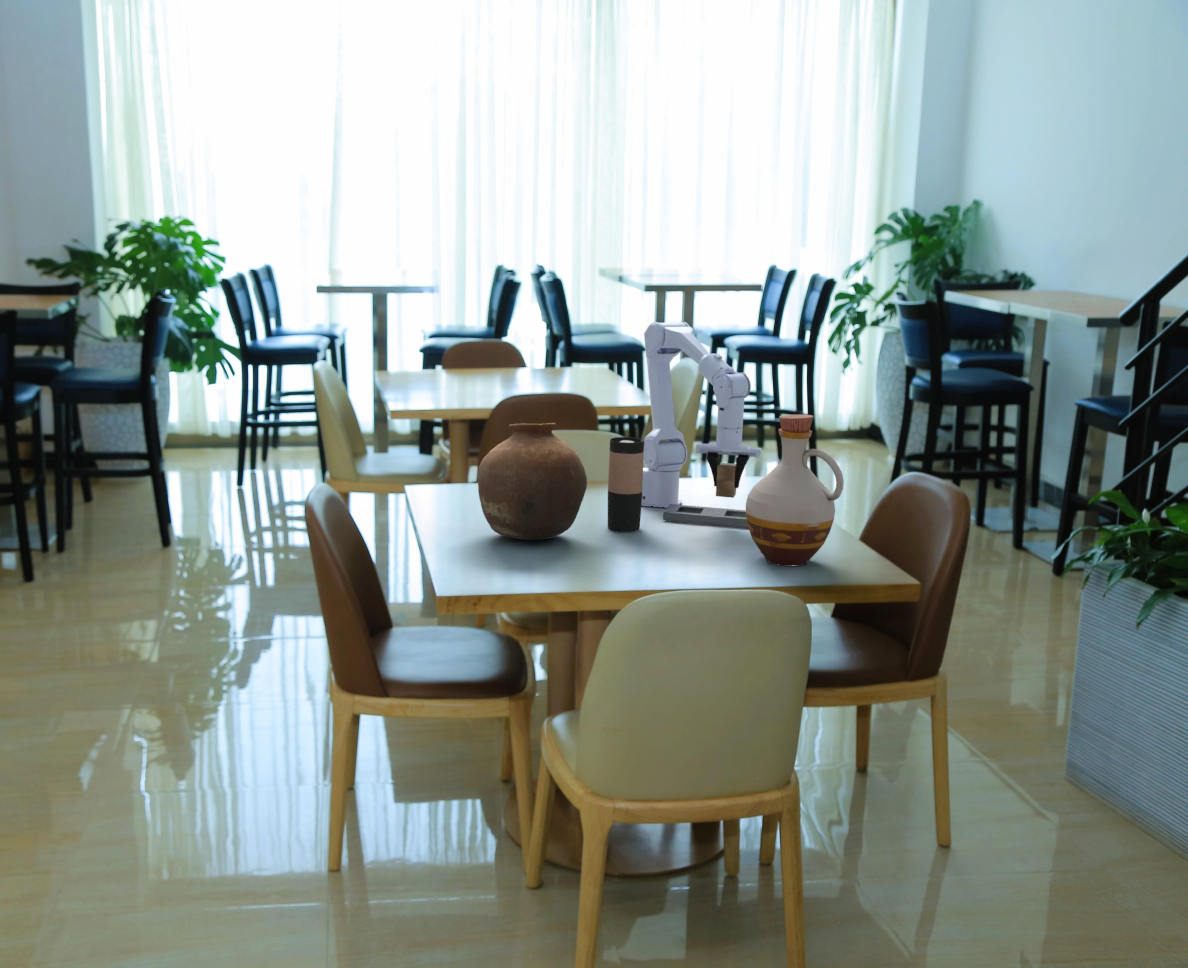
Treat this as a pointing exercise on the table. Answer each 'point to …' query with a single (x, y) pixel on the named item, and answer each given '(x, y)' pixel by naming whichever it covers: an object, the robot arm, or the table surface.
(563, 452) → the pottery
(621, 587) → the table surface
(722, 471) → the walnut peg
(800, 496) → the jug
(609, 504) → the travel mug
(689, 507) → the grey slotted board
